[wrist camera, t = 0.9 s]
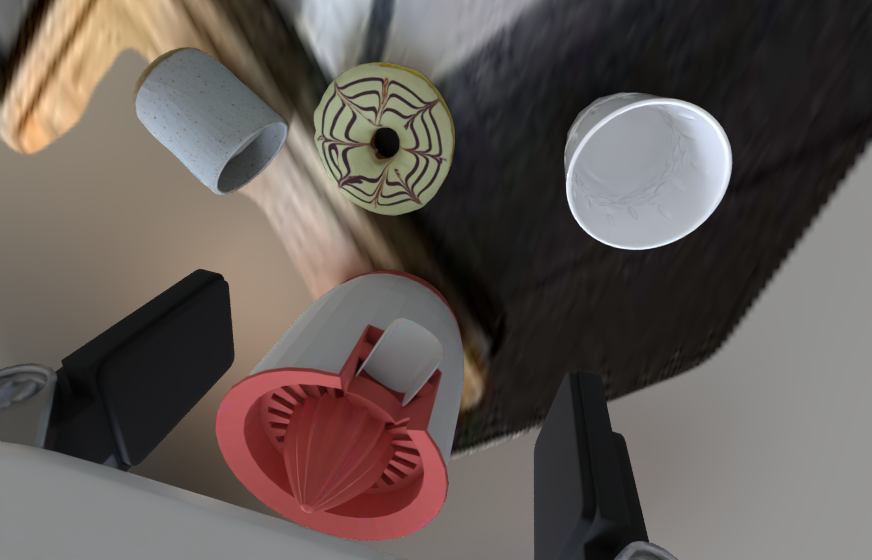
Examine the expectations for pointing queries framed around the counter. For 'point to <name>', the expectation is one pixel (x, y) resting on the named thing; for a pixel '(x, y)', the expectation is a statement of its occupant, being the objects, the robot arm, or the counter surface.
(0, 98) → the counter surface
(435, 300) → the citrus juicer
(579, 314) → the counter surface
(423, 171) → the decorated donut
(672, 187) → the white cup
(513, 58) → the counter surface
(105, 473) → the robot arm
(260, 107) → the ceramic mug
